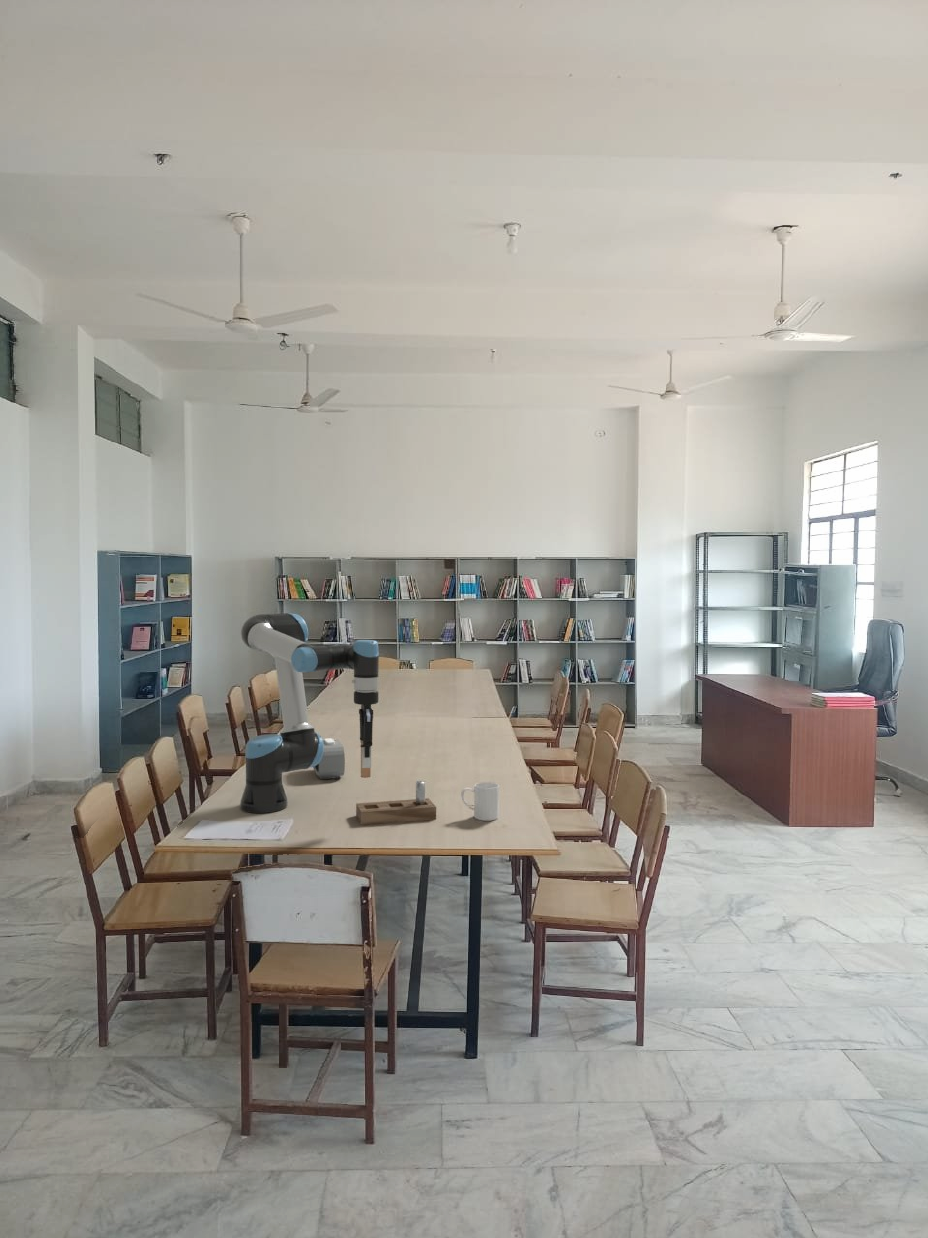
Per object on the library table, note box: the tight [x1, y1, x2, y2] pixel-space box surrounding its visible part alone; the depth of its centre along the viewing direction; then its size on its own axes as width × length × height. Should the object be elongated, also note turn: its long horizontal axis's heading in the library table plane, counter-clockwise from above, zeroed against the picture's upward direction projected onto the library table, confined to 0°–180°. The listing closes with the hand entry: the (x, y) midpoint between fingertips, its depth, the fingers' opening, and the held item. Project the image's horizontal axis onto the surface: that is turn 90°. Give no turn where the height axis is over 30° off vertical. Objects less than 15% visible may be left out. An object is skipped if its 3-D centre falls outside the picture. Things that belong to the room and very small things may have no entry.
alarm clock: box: [312, 737, 346, 780], centre depth 317 cm, size 21×10×13 cm, turn 18°
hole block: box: [355, 797, 437, 826], centre depth 264 cm, size 10×24×4 cm, turn 107°
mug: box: [460, 781, 500, 822], centre depth 264 cm, size 12×8×10 cm, turn 103°
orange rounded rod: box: [360, 741, 372, 779], centre depth 253 cm, size 3×3×11 cm
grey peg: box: [415, 780, 426, 806], centre depth 266 cm, size 3×3×11 cm
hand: (365, 766), depth 253 cm, fingers closed on orange rounded rod, 2 cm apart
